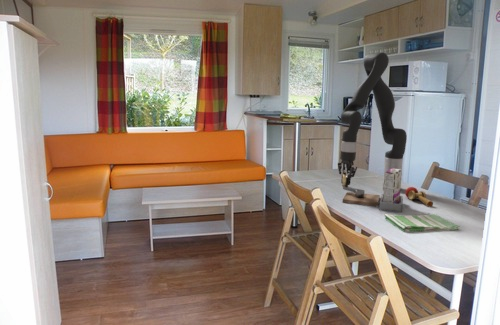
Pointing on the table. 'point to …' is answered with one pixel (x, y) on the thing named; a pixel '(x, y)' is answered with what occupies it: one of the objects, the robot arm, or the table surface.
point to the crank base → (361, 199)
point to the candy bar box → (392, 186)
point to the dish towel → (421, 223)
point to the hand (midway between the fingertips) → (345, 183)
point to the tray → (391, 205)
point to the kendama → (418, 196)
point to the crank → (357, 191)
